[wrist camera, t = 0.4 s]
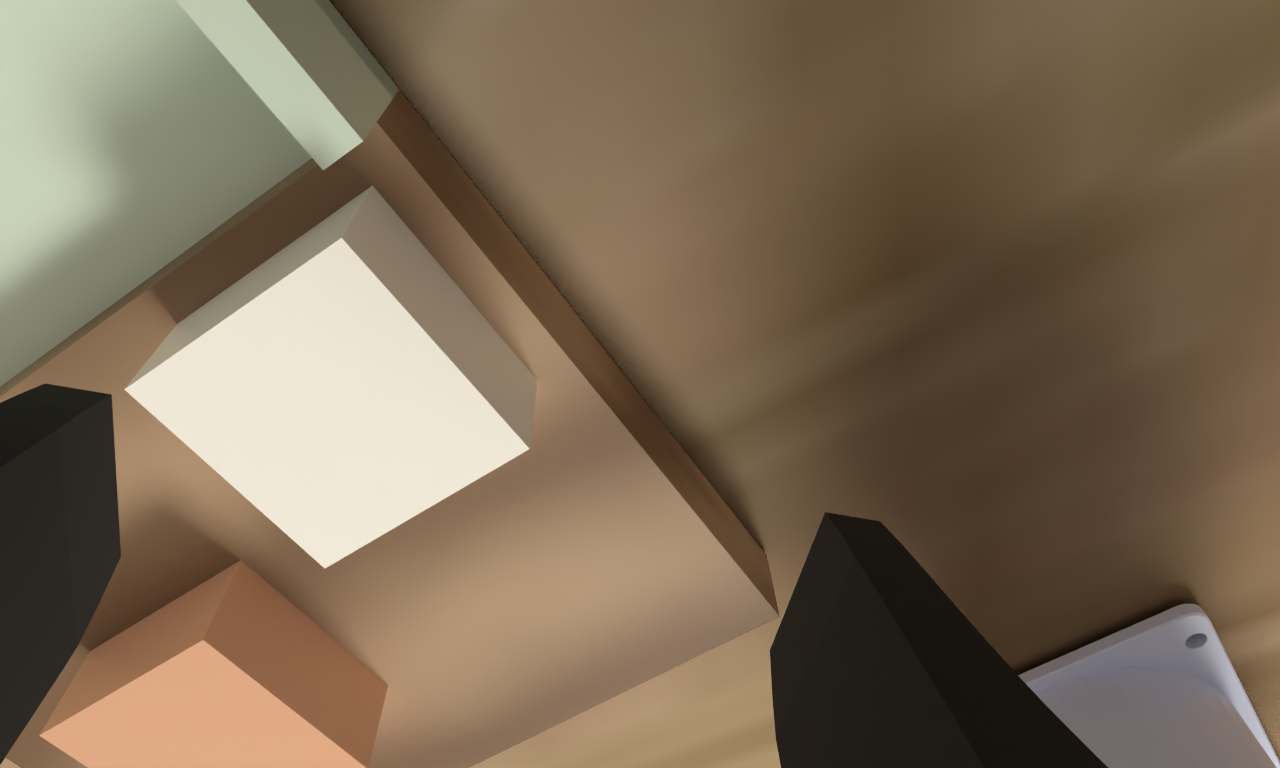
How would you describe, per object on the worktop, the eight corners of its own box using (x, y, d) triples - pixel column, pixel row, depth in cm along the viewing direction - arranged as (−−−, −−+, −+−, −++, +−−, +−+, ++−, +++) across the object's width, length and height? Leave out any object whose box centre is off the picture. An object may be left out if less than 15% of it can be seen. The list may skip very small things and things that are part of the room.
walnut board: (766, 554, 23) (779, 616, 21) (239, 822, 27) (215, 891, 26) (399, 89, 17) (376, 122, 15) (-193, 524, 22) (-262, 587, 20)
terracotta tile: (387, 685, 22) (367, 768, 20) (242, 762, 23) (210, 848, 21) (240, 560, 20) (203, 639, 18) (89, 651, 21) (39, 735, 19)
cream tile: (537, 380, 18) (529, 449, 16) (352, 492, 19) (324, 568, 17) (372, 186, 16) (341, 238, 14) (177, 324, 17) (124, 389, 15)
